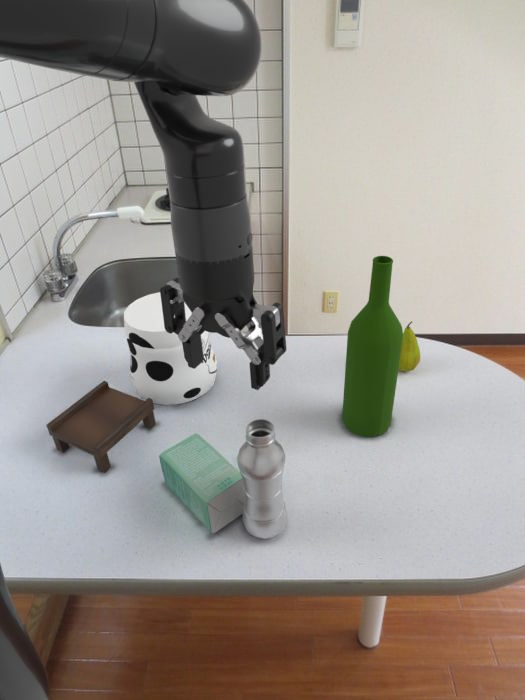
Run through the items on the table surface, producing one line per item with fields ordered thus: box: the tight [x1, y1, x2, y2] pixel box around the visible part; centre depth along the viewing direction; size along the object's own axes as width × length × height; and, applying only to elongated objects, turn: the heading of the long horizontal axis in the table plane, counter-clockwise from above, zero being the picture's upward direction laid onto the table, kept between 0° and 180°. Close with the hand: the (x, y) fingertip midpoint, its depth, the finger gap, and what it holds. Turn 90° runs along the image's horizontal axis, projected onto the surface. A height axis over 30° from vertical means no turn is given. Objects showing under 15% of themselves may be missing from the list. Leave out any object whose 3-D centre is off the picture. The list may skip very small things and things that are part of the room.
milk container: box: [123, 291, 218, 407], centre depth 103 cm, size 17×17×18 cm
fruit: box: [398, 320, 421, 372], centre depth 107 cm, size 6×6×12 cm
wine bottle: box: [341, 255, 404, 438], centre depth 88 cm, size 9×9×32 cm
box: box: [158, 433, 245, 534], centre depth 82 cm, size 7×14×8 cm, turn 41°
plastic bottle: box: [236, 418, 288, 540], centre depth 73 cm, size 6×7×20 cm
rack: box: [45, 380, 157, 474], centre depth 94 cm, size 14×12×6 cm
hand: (226, 374), depth 60 cm, fingers open, 8 cm apart
